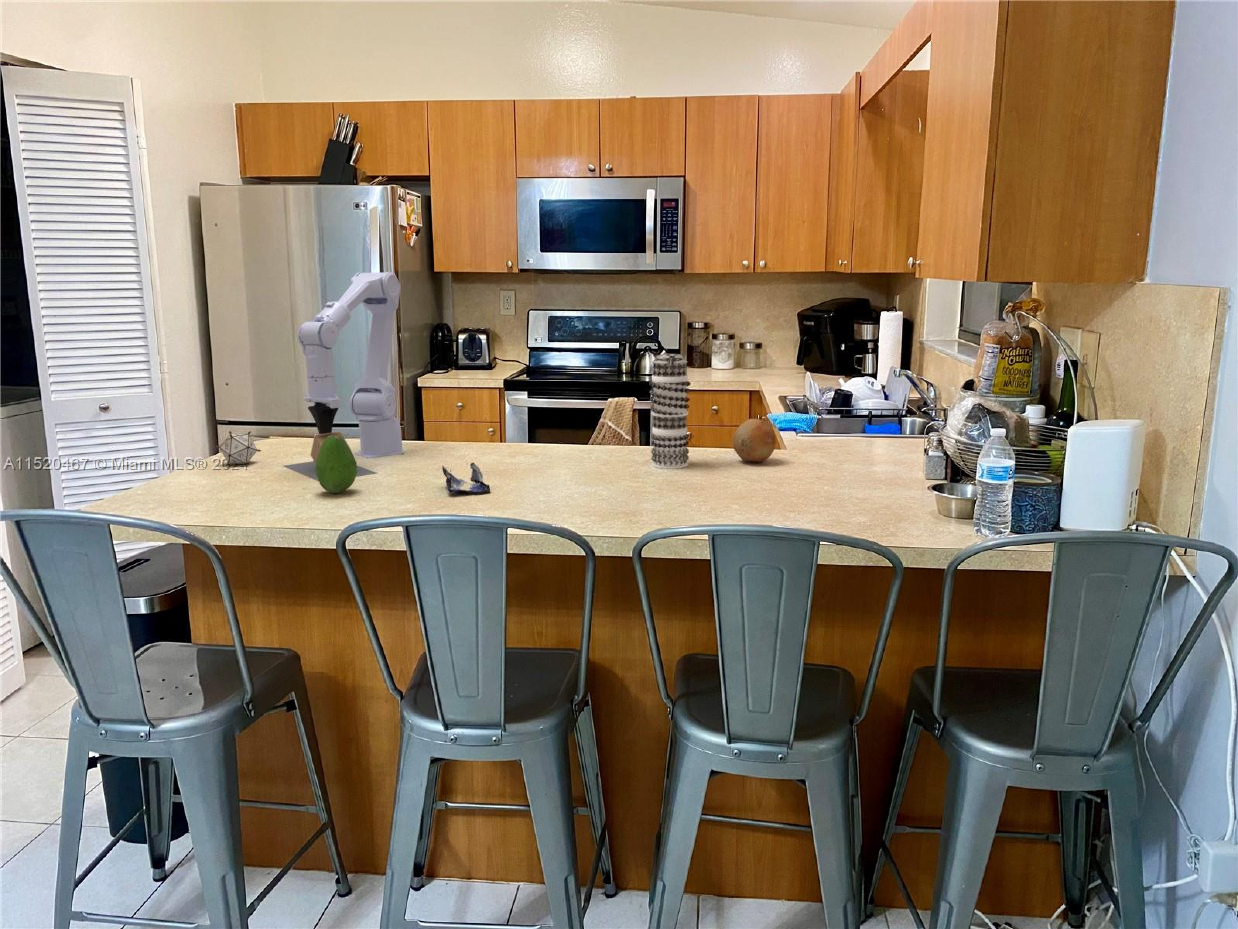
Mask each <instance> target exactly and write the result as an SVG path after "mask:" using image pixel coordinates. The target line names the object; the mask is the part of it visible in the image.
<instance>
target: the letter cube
mask: <svg viewBox="0 0 1238 929" xmlns="http://www.w3.org/2000/svg"><path fill="white" fill-rule="evenodd" d="M331 435H336V436H339V437H340V438H342V439H343V440H344V441H345V442H346V444H347V445H348V447H349V448H350V450H351V451H352V449H351V447H350V445H349V443H348V442H347V440H346V439H345V437H344V436H343V434H342V432H341V431H335V432H332V433H326V434H319V433H318V434H314V436H313V440H312V445H311V453H310V456H311V458H312V460H313V461H314V462H315V464H316V462H317V458H318V455H319V452H320V449H321V445H322V443H323V441H324V440H325V439H326V438H327V437H328V436H331Z"/></svg>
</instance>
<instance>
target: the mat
mask: <svg viewBox="0 0 1238 929" xmlns="http://www.w3.org/2000/svg"><path fill="white" fill-rule="evenodd" d="M282 467H283V468H286V469H288V470H290V471H293V472H295V473H297V474H300V475H302V476H305V477H307V478H309V479H312V480H314V481H316V482H319V480H318V478H317V475H316V464H315V462H314V460H313V461H307V462H306V461H305V462H299V463H293V464H291V463H290V464H285V465H282ZM377 474H378V472H376V471H374V470H370V469H368V468H365V467H362V466H359V465H357V474H356V478H358V477H359V478H360V477H364V476H369V475H371V476H372V475H377Z"/></svg>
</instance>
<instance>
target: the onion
mask: <svg viewBox="0 0 1238 929" xmlns="http://www.w3.org/2000/svg"><path fill="white" fill-rule="evenodd" d="M776 440H777V439H776V434H775V432H774V430H773V429H772V427H771V425H770V424H769V423H768V422H766V421H764V420H762V419H758V418H749V419H747V420H745V421H743V423H741V424H740V425H739V426H738V427H737V428H736V430H735V432H734V433H733V437H732V447H733V450H734V452H735V453H736V455H737V456H738V457H739V458H740V459H741V460H742V461H744V462H750V463H758V464H760V463H764V462H765V461H767V459H769V458H770V457H771V455H772V454H773V453H774V451H775V447H776V443H777V441H776Z"/></svg>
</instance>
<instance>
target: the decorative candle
mask: <svg viewBox="0 0 1238 929" xmlns="http://www.w3.org/2000/svg"><path fill="white" fill-rule="evenodd" d="M688 362H689V361H687V360H686V359H685V358H684V356H683V355H682V354H679V353H660V354H657V355H656V356H655V357H654V359H653V361H651V363H652V375H651V380H649V381H648V383H649V386H650V387H651V389H650V390H649V394H650V395H651V396H650V398H649V401H650V402H652V404H651V406H650V410H651V412H650V414H651V416H653V419H652V422H653V425H652V430H651V431H652V434H651V436H650V438H651V439H652V441H651V446H653V447H652V449H651V451H650V453H651V461H652V462H651V467H653V468H656V469H660V470H661V469H664V470H675V469H676V470H677V469H678V470H679V469H684V468H686V467H689V465H690V464H689V462H688V461H689V459H690V457H689V455H688V454H689V452H690V449H689V448H687V446H688V445H689V441H688V439H689V437H690V436H689V434H688V426H687V421H688V419H687V416H688V415H689V411H688V409H690V404H688V402H689V401H691V399H690V398H689V397H688V396H687V394H689V393H690V392H691V389H689V388H688V387H689V386H691V384H692V383H691V382H690V381H689V380H688V373H687V371H688V368H687V367H688Z"/></svg>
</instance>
